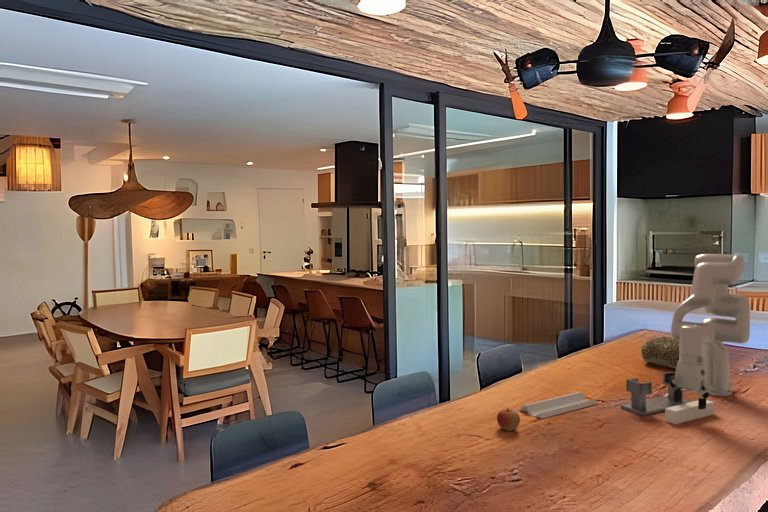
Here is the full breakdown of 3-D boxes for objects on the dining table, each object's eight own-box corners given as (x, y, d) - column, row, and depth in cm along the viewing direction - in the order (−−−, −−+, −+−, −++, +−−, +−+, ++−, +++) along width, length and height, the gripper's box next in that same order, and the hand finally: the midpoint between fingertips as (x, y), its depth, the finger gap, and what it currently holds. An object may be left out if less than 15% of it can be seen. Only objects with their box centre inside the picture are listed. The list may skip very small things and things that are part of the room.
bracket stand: (670, 397, 227) (671, 370, 226) (693, 404, 218) (693, 376, 217) (620, 407, 215) (621, 378, 215) (642, 415, 206) (642, 385, 206)
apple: (507, 435, 189) (507, 412, 189) (492, 427, 196) (492, 405, 196) (524, 431, 193) (525, 408, 192) (509, 423, 200) (509, 402, 199)
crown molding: (540, 421, 204) (540, 411, 204) (517, 411, 215) (517, 402, 214) (596, 405, 220) (597, 396, 220) (572, 398, 230) (572, 389, 230)
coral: (695, 368, 278) (697, 339, 277) (686, 374, 264) (689, 343, 263) (646, 359, 293) (649, 331, 292) (636, 364, 279) (638, 335, 278)
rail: (703, 411, 211) (703, 399, 210) (713, 415, 207) (714, 402, 207) (664, 421, 201) (665, 408, 201) (675, 425, 197) (675, 411, 197)
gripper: (720, 363, 196) (719, 410, 197) (676, 353, 212) (675, 397, 213) (706, 365, 193) (704, 413, 194) (663, 355, 209) (662, 400, 210)
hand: (689, 405), depth 203 cm, fingers open, 9 cm apart
